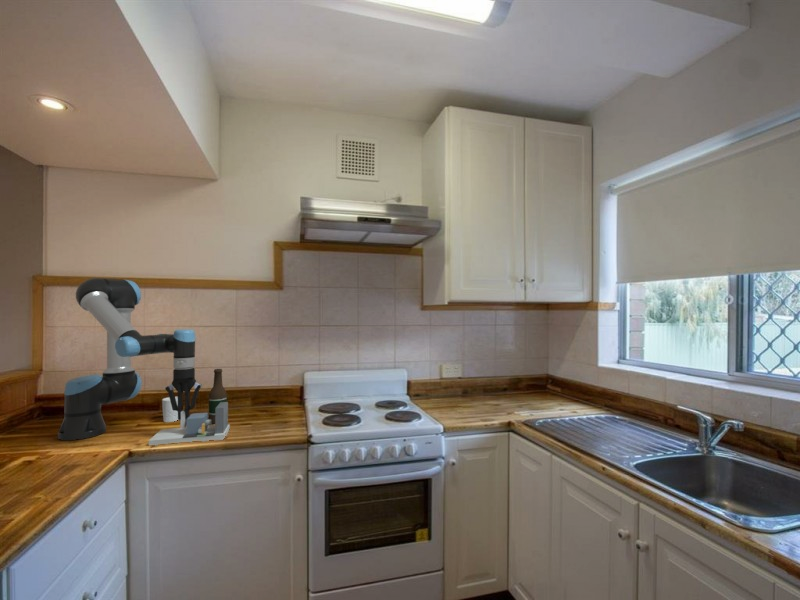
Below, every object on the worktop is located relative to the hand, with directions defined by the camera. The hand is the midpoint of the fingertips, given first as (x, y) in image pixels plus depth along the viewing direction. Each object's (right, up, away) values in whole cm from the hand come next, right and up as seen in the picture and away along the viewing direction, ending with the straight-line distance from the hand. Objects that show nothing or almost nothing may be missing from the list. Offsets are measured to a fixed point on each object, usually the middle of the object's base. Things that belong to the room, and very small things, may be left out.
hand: (183, 427), depth 153 cm
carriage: (+6, -2, 0) cm, 6 cm away
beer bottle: (+4, -5, +21) cm, 22 cm away
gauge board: (+3, -4, +1) cm, 5 cm away
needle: (+10, -1, -3) cm, 10 cm away
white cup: (-19, -5, +24) cm, 31 cm away
